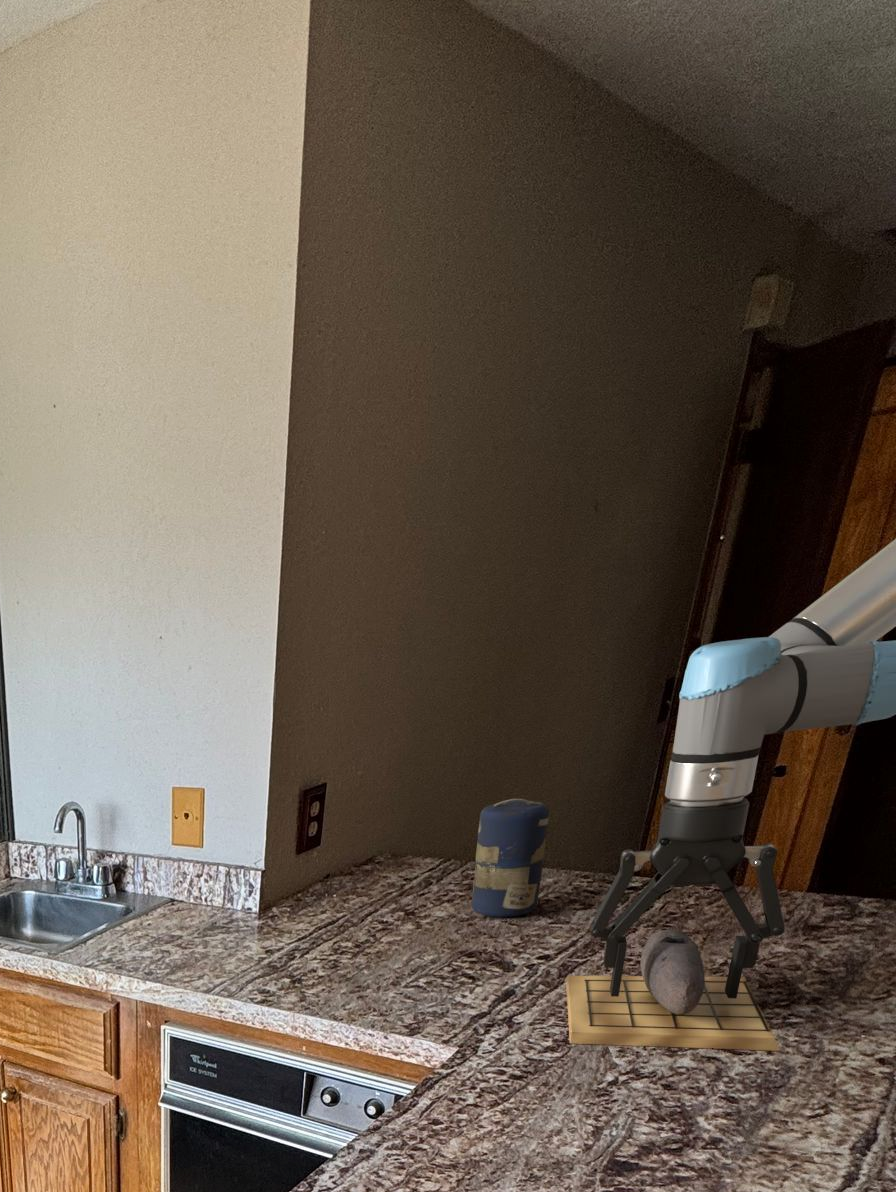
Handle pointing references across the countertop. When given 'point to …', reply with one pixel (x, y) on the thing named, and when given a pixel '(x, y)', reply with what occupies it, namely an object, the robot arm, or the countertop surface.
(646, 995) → the board
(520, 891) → the canister
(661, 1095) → the countertop surface
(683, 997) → the perforated stone tool
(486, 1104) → the countertop surface
